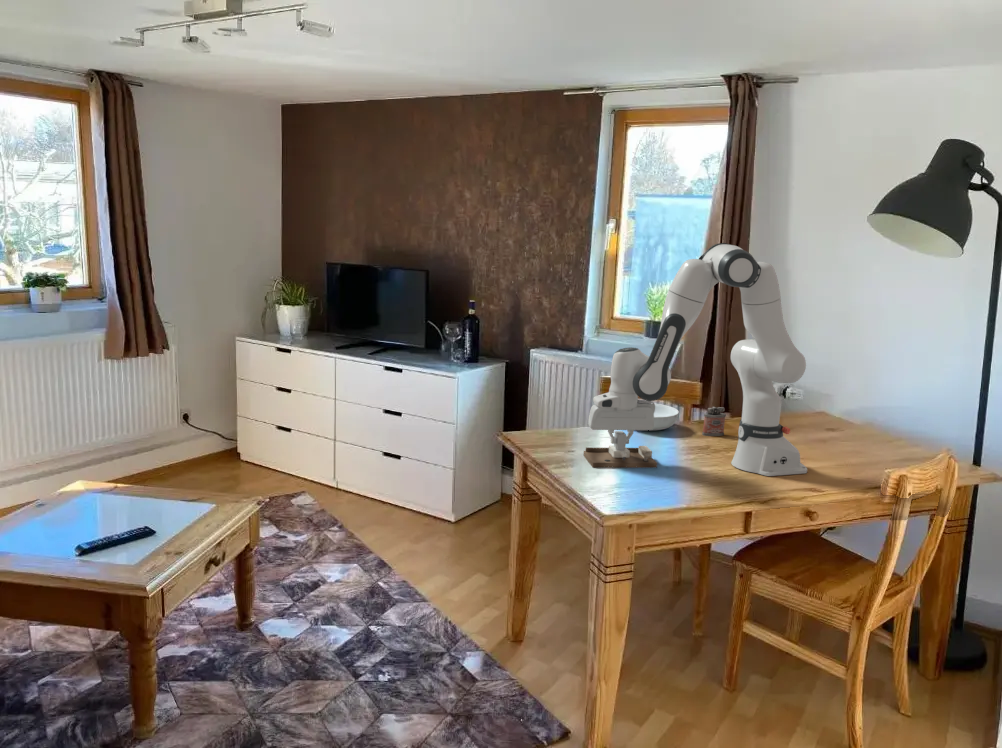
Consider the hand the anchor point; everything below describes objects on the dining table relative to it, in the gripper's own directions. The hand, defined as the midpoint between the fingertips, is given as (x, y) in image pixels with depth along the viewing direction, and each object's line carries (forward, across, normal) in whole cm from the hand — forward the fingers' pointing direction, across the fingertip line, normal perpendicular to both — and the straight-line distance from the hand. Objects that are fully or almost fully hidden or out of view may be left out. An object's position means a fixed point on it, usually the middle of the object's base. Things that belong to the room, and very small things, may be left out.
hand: (619, 443), depth 248 cm
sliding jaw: (+4, 0, +2) cm, 4 cm away
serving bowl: (+6, -22, -38) cm, 45 cm away
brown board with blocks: (+5, 0, +2) cm, 6 cm away
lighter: (+6, -43, -30) cm, 52 cm away
